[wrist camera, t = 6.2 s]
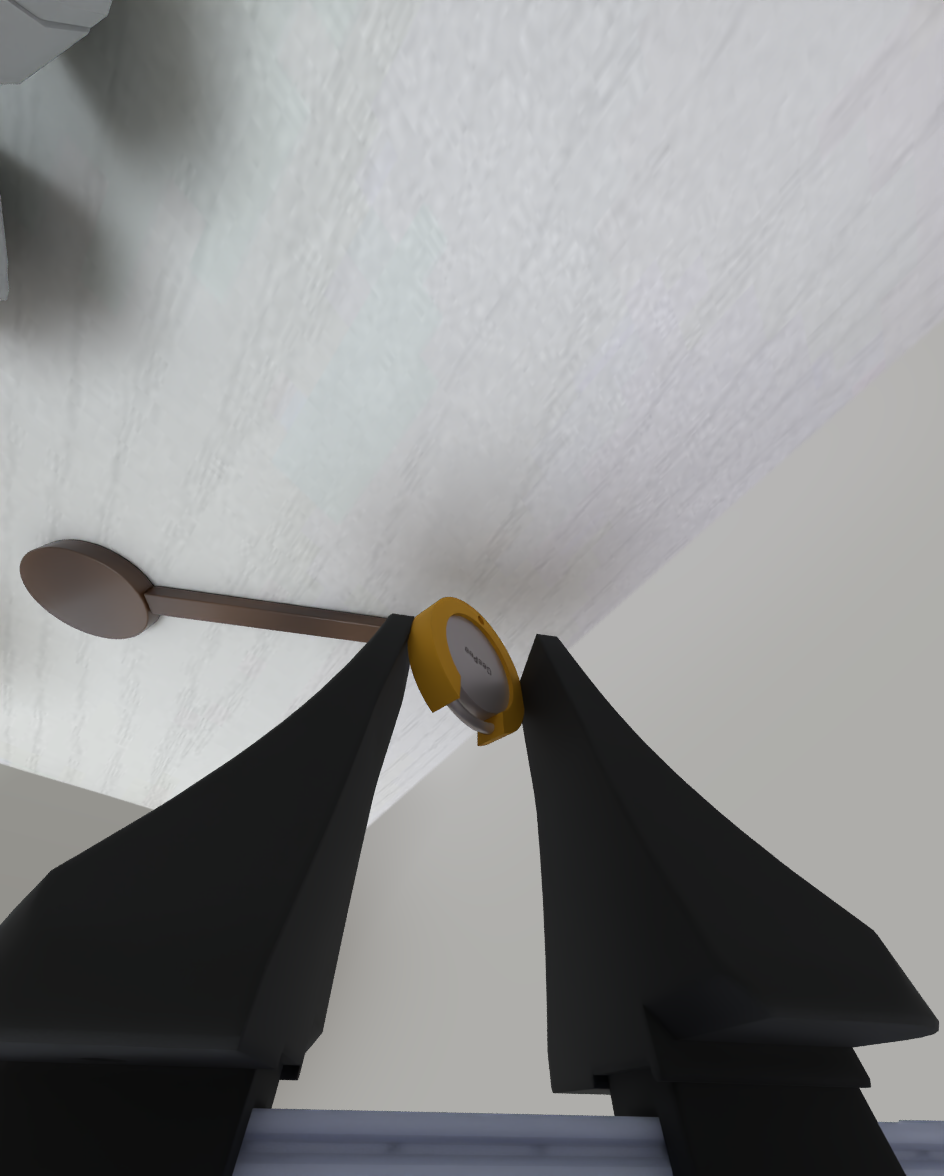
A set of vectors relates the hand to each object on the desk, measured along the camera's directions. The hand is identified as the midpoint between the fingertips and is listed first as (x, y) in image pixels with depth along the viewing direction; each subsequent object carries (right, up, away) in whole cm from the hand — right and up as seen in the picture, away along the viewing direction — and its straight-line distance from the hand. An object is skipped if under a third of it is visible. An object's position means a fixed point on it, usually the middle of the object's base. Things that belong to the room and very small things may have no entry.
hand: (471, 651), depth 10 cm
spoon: (-10, +1, +7) cm, 12 cm away
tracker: (0, +1, +1) cm, 2 cm away
